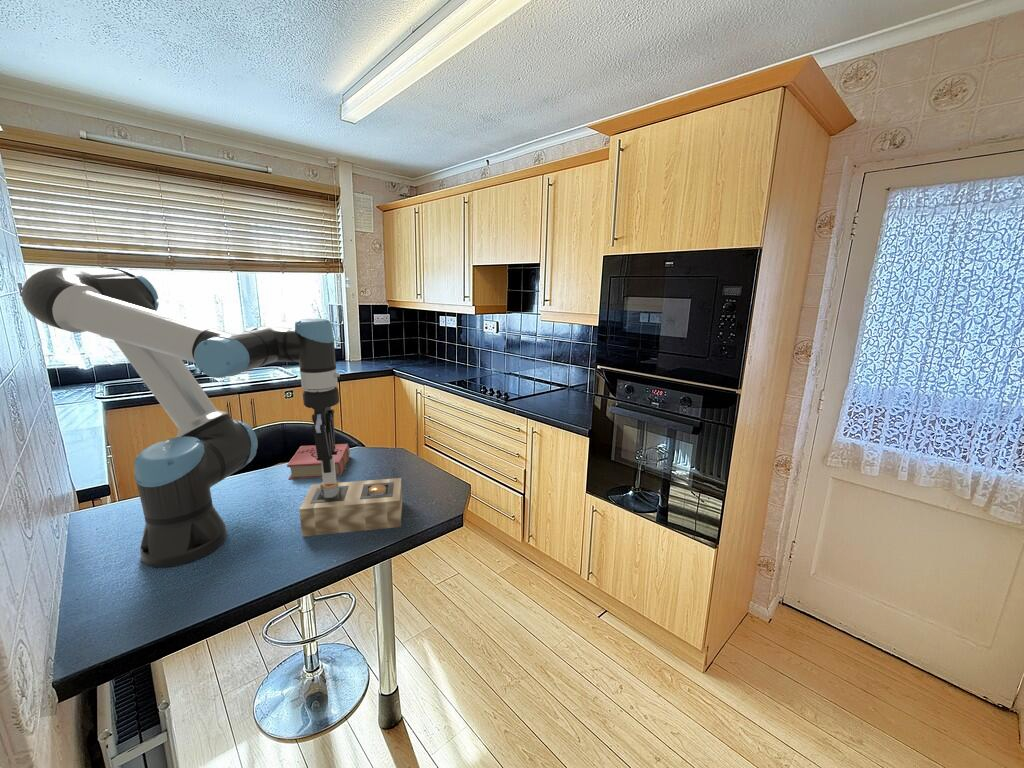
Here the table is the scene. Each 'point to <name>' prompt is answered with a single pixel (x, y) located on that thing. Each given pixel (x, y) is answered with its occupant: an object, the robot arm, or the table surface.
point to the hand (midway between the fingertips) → (329, 482)
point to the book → (316, 462)
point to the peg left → (329, 491)
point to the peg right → (377, 490)
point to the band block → (352, 508)
